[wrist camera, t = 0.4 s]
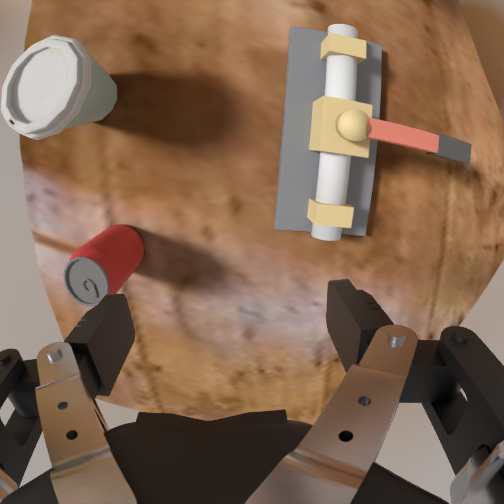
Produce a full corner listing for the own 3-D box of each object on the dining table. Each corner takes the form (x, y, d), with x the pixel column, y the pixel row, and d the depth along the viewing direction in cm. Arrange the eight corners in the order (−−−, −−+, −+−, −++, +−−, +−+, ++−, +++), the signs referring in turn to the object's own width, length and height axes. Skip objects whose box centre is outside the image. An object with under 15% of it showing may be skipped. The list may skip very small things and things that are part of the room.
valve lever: (333, 138, 29) (341, 138, 27) (336, 108, 28) (343, 106, 26) (457, 165, 30) (469, 167, 28) (459, 140, 29) (471, 140, 27)
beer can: (118, 276, 41) (82, 319, 30) (93, 237, 39) (49, 269, 28) (154, 256, 40) (125, 296, 29) (129, 214, 38) (89, 240, 27)
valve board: (289, 30, 31) (299, 8, 25) (377, 48, 32) (401, 33, 25) (273, 226, 40) (280, 242, 33) (361, 233, 40) (383, 249, 33)
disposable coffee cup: (98, 49, 31) (38, 15, 17) (152, 88, 33) (104, 58, 19) (53, 112, 33) (-18, 107, 19) (102, 154, 36) (36, 161, 21)
